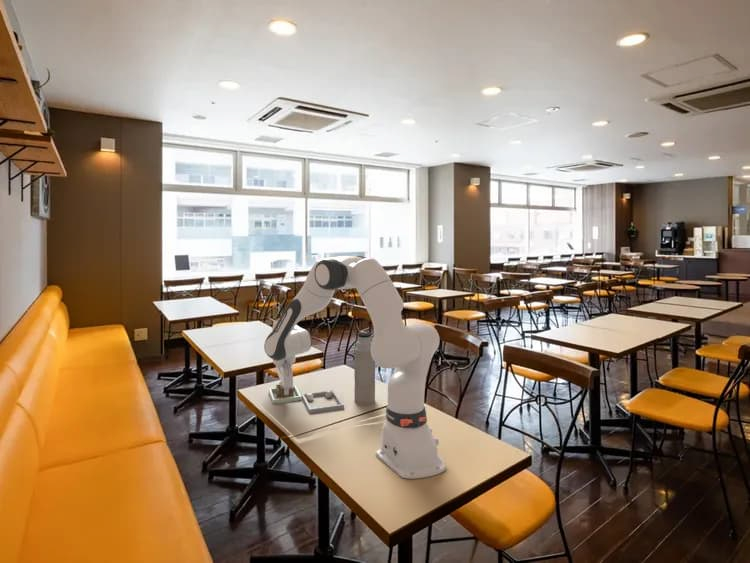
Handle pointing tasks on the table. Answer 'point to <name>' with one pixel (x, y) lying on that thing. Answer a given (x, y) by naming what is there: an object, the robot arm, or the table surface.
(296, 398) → the green tray
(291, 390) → the scoop cup
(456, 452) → the table surface
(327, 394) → the pebble
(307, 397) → the pebble
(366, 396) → the thermos bottle
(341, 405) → the slate tray
